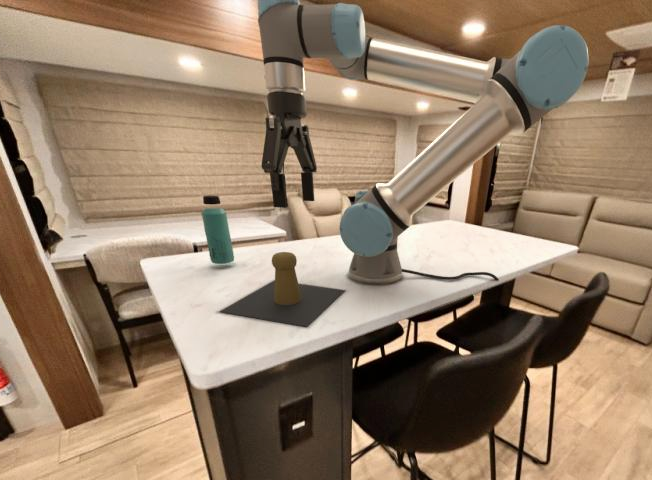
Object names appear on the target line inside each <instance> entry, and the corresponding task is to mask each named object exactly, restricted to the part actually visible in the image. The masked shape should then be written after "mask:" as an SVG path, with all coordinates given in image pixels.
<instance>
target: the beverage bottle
mask: <svg viewBox="0 0 652 480" xmlns="http://www.w3.org/2000/svg"><path fill="white" fill-rule="evenodd" d="M202 201H203V205H221V200H220V196H219V195H209V194H208V195H203V196H202ZM200 214H201V217H202V222H203V229H204V233H205V238H206V244H207V248H208V254H209V259H210V262H211V263H212V264H214V265H215V264H216V265H223V264H231V263H232V262H234V261H235V255H234V249H233V248H234V247H233V242H232V238H231V234H230V228H229V221H228V215H227V211H226V210H225V209H223V208H220V207H207V208H206V207H205V208H204V209H203V210H202V211H201V213H200Z"/></svg>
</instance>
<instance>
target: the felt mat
mask: <svg viewBox="0 0 652 480" xmlns="http://www.w3.org/2000/svg"><path fill="white" fill-rule="evenodd" d="M298 285H299V290H300V294H301V301H300V302H298V303H296V304H292V305H279V304H277V303H275V302H274V292H275V279H274V280H273V281H271V282H269V283H267V284H266V285H264V286H261V287H260V288H258V289H257V290H255V291H253V292H251V293H249V294H248V295H246V296H244V297H243V298H241V299H239V300H237V301H235V302H234V303H232V304H230V305H228V306H227V307H225V308H223V309H221V310H220V311H219V313H222V314H229V315H235V316H239V317H245V318H251V319H256V320H257V319H258V320H263V321H269V322H273V323H274V322H275V323H280V324H285V325H291V326H298V327H303V328H308V327H309V326H310V325H311V324H312V323H313V322H314V321H315V320H316V319H317V318H318V317H320V316H321V314H323V312H325V310H326V309H328V308H329V307H330V306H331V305H332V304H333V303H334V302H335V301H336V300H337V299H338V298H339V297H340V296H341V295H342V294H343V293H344V292H345V289H339V288H331V287H325V286H324V287H323V286H316V285H309V284H302V283H298Z"/></svg>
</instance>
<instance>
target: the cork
mask: <svg viewBox="0 0 652 480" xmlns="http://www.w3.org/2000/svg"><path fill="white" fill-rule="evenodd" d="M297 261H298V260H297V256H296V255H295V254H294V253H293V252H290V251H280V252H276V253H274V254H273V255H272V256H271V265H272V267H273V268H274V280H275V292H274V302H275V303H277V304H279V305H292V304H296V303H298V302H300V301H301V294H300V290H299V285H298V284H299V281H298V277H297V276H298V275H297V272H296V266H297V263H298V262H297Z"/></svg>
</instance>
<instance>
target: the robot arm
mask: <svg viewBox="0 0 652 480" xmlns="http://www.w3.org/2000/svg"><path fill="white" fill-rule="evenodd" d="M256 3H257V23H258V27H259V35H260V43H261V50H262V61H263V68H264V69H263V70H264V75H263V76H264V77H263V78H264V80H265V88H266V90H267V91H268V93H267V95H266V100H267V109H268V114H269V115H270V116H266V117H265V135H264V143H263V151H262V157H261V158H262V159H261V170H263V172H264V173H265V174H269V178H270V179H269V180H270V186H271V194H272V204H273V208H282V209H284V208H285V209H286V208H288V197H287V188H286V179H285V178H286V177H285V173H283V172H282V171H283V168H284V164H285V161H286V157H287V155H288V151H289V148H291V149H292V150H293V151H294V154H295V156H296V159H297V161H298V163H299V166H300V168H301V172H300V180H301V192H302V201H303V202H315V189H314V188H315V187H314V173H317V171H318V170H317V169H318V167H317V162H316V158H315V154H314V150H313V146H312V141H311V137H310V130H309V129H310V128H309V125H308V124H302V121H301V119H304V118H306V117H307V115H308V112H307V111H308V110H307V99H306V97H305V95H304V94H305V93H306V92H307V91H306V80H305V69H304V67H305V66H304V59H327V60H328V62H330V64H331V65H332V66H333V67H334V69H335V70H336V71H337V73H338V74H339V75H340V76H341V77H343V78H345V79H347V80H349V81H356V80H359V79H361V80H366V81H367V80H368V81H371V82H376V83H381V84H385V85H391V86H395V87H399V88H404V89H409V90H413V91H418V92H423V93H426V94H432V95H435V96H439V97H446V98H449V99H453V100H459V101H463V102H467V103H473V105H472V106H471V107H470V108H468V110H466V111H465V112H464V113H463V114H462V115H461V116H460V117H458V119H457V120H455V121H454V122H453V123H452V124H451V125H450V126H449V127H448V128H447V129H445V131H444V132H443V133H440V135H439V136H438V137H437V138H435V140H434V141H433V142H432V143H430V144H429V145H428V146H426V148H425V149H424V150H423V151H421V153H420V154H419V155H417V156H416V157H415V158H414V159H413V160H412V161H410V162H409V164H408V165H406V166H405V167H404V168H403V169H402V170H401V171H400V172H399V173H398V174H397V175H395V176H394V177H393V178H391V180H390V181H388V183H381V182H378V183H376V184H375V185H374V186H373V187H371V189H369V190H359V191H357V192H356V193H355V198H354V204H353V203H352V204H351V205H349V206H348V207H347V208H346V209H345V210H344V212H343V214H342V216H341V217H340V221H339V236H340V238H341V240H342V243H343V244H344V246H345V247H346V248H347V249H348V250H349V251H350V252H351V253H353V255H352V259H351V262H350V265H349V268H348V276H349V278H350V279H352V281H355V282H358V283H362V284H368V285H387V284H392V283H396V282H398V281H400V280H401V279H402V277H403V273H407V274H410V275H411V274H412V275H415V276H416V275H417V276H421V277H426V278H432V279H437V280H445V281H446V280H447V281H455V280H459V279H462V278H464V277H468V276H488V277H491V278H493V279H494V280H495V281H500V279H499V278H498V276H497V275H495V274H494V273H491V272H487V271H476V272H475V271H474V272H464V273H461V274H459V275H456V276H442V275H435V274H431V273H425V272H419V271H415V270H410V269H404V268H402V263H401V260H400V257H399V253H398V239H399V236H400V235H402V234H403V233H404V232H405V231H407V230H408V229H409V228H410V227H411V226H412V221H413V216H414V215H415V214H416V213H417V212H418V211H419V210H421V209H422V208H423V207H424V206H426V205H427V204H428V203H429V202H430V201H432V200H433V199H434V198H435V197H436V196H437V195H439V194H440V193H441V192H442V191H443V190H445V189H446V188H448V187H449V185H451V184H452V183H453V182H454V181H455V180H457V179H458V178H459V177H461V175H462V174H464V173H465V172H466V171H467V170H468V169H470V168H471V167H473V165H475V164H476V163H477V162H478V161H480V160H481V159H482V158H483V157H484V156H485V155H487V154H488V153H489V152H490V151H491V150H493V149H494V148H495V147H496V146H497V145H499V143H501V142H502V141H503V140H504V139H506V138H507V137H508V136H510V135H514V136H516V135H517V136H520V135H521V136H522V135H523V134H524V133H525V132H527V131H528V130H529V129H530V128H531V127H533V126H534V125H535V124H537V123H538V122H539V121H540V120H541V119H543V118H544V117H545V116H546V115H547V114H548V113H550V112H552V110H554V109H557V108H559V107H562V106H563V105H565V104H566V103H567V102H568V101H569V100H571V98H572V97H574V96H575V94H576V93H577V92H578V91H579V89H580V88H581V87H582V85H583V82H584V81H585V78H586V77H587V76H586V75H587V71H588V67H589V59H590V58H589V50H588V46H587V43H586V41H585V39H584V38H583V36H582V34H581V33H579V32H578V30H576V29H574V28H573V27H570V26H569V25H561V24H560V25H559V24H558V25H557V24H555V25H551V26H547V27H545V28H543V29H541V30H540V31H538V32H536V33H534V34H533V35H532V36H530V37H529V38H528V40H527V41H526V42H525V43H523V46H522V47H521V49H520V50H519V51H518V52H517V53H516V54H515V55H514V56H512V57H511V58H500V57H496V56H493V57H492V58H491V59H489V60H487V61H484V60H480V59H476V58H472V57H471V58H470V57H466V56H461V55H457V54H452V53H447V52H442V51H436V50H432V49H428V48H423V47H418V46H413V45H409V44H405V43H400V42H395V41H394V42H393V41H389V40H385V39H381V38H377V37H376V38H375V37H369V36H366V23H365V18H364V11H363V10H362V8H361V7H360V6H359V5H358V4H352V3H344V2H338V3H330V4H301V3H300V0H257V2H256Z"/></svg>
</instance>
